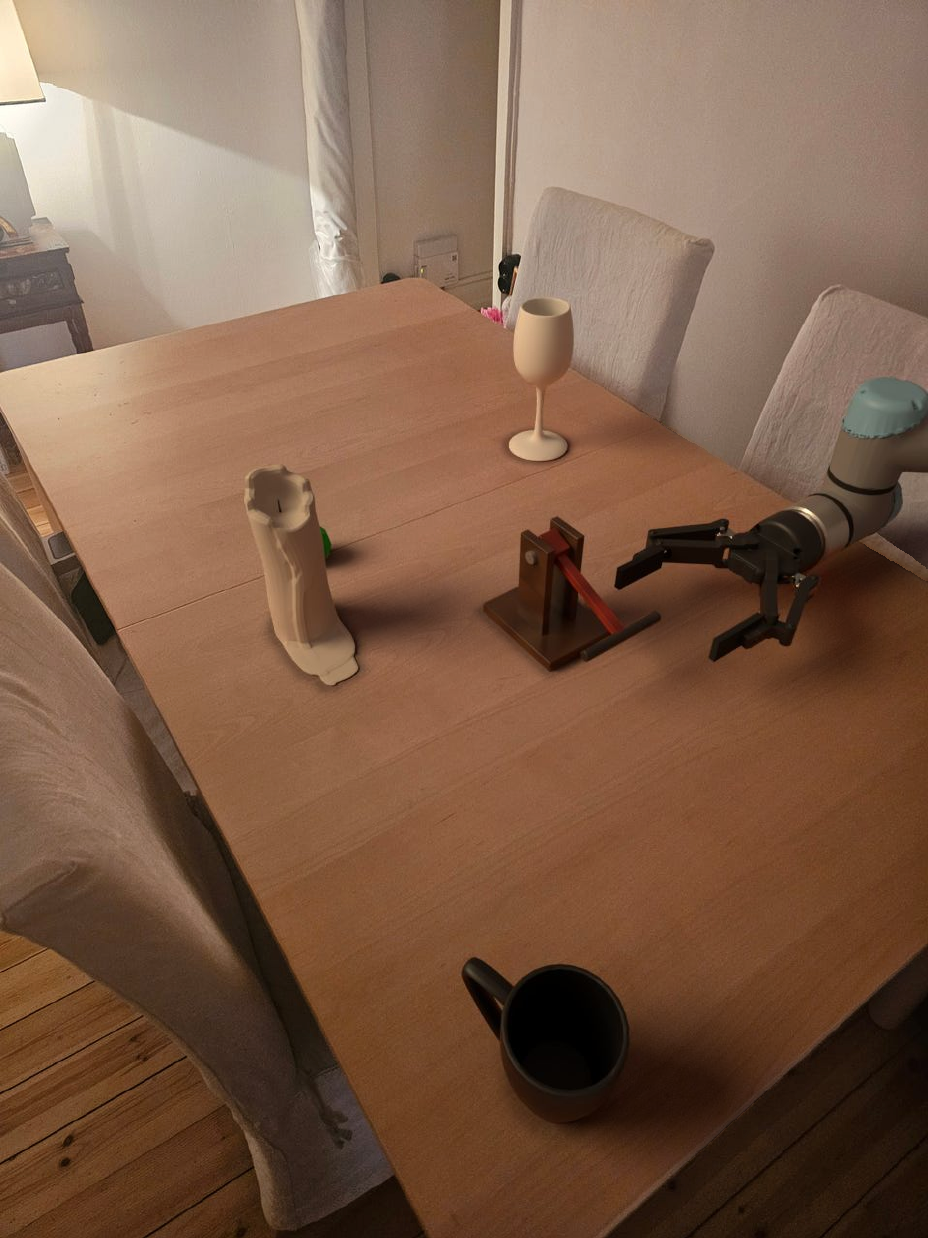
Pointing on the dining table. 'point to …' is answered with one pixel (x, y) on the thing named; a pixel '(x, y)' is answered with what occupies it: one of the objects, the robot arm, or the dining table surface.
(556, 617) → the rod stand
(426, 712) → the dining table surface
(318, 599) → the candle
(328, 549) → the polyhedron
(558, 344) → the wineglass
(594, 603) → the red lever
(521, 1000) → the mug
